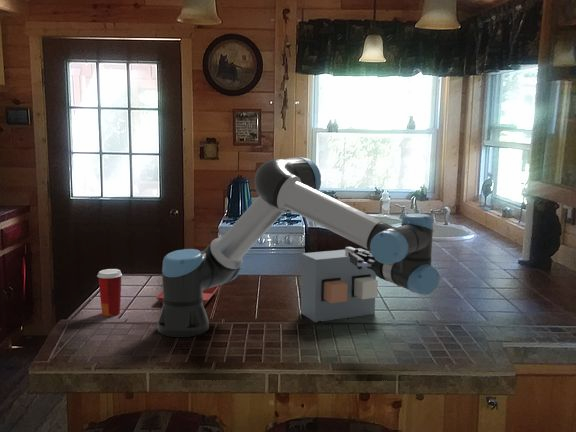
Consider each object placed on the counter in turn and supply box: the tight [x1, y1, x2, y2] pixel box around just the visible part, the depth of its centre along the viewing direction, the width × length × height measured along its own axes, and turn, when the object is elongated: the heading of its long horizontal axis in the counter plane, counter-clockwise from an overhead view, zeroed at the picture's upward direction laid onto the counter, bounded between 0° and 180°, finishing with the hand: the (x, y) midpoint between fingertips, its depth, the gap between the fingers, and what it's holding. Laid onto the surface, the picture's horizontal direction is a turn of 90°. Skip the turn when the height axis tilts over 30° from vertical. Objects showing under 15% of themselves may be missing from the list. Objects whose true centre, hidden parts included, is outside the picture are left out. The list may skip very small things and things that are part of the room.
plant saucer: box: [155, 285, 219, 307], centre depth 220 cm, size 18×18×3 cm
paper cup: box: [96, 268, 123, 317], centre depth 202 cm, size 8×8×14 cm
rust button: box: [324, 280, 347, 303], centre depth 195 cm, size 5×6×6 cm
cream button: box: [354, 277, 379, 299], centre depth 199 cm, size 5×6×6 cm
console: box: [300, 247, 377, 323], centre depth 204 cm, size 10×22×20 cm, turn 115°
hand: (347, 251), depth 187 cm, fingers closed
